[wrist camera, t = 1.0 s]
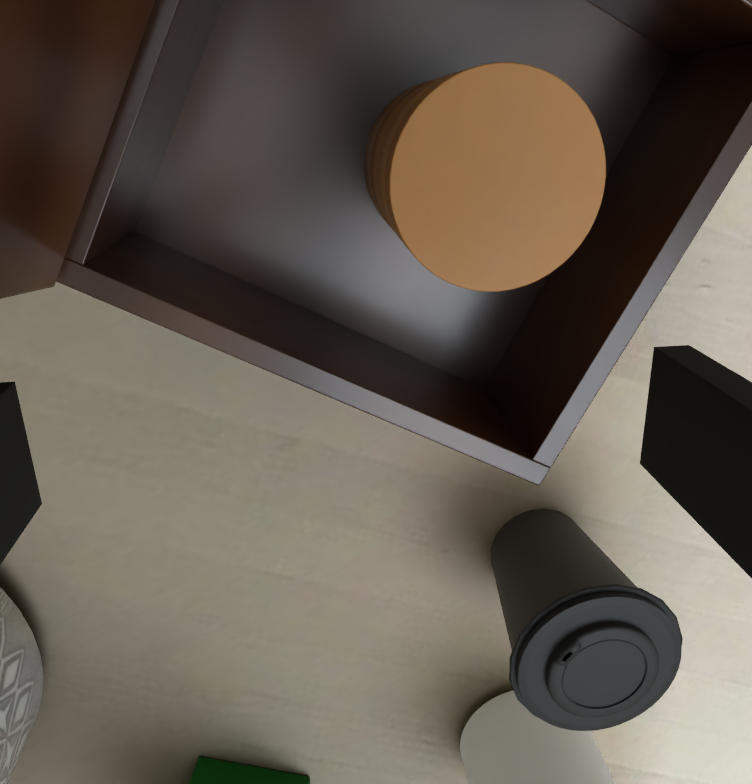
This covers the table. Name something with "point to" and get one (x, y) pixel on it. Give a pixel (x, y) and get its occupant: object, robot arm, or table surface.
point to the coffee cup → (579, 626)
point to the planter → (17, 684)
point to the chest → (367, 227)
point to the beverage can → (527, 748)
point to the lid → (56, 121)
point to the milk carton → (240, 774)
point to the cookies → (488, 174)
